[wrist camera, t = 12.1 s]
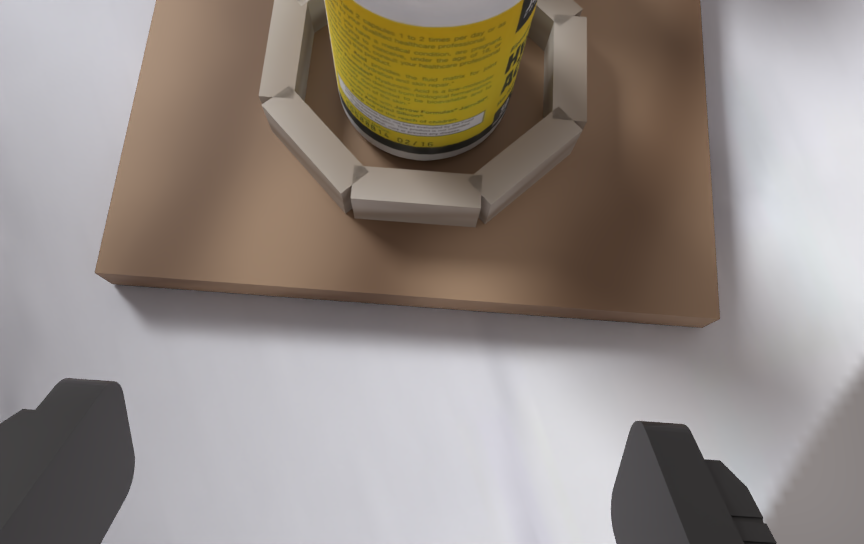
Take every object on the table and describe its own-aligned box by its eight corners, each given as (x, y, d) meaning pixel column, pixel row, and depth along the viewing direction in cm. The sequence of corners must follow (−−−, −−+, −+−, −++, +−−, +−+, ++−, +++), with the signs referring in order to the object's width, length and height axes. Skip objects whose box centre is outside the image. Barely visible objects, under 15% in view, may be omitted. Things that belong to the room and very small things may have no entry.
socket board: (112, 284, 20) (-12, 204, 14) (192, -85, 24) (122, -266, 18) (702, 327, 20) (823, 267, 14) (681, -45, 24) (770, -211, 18)
